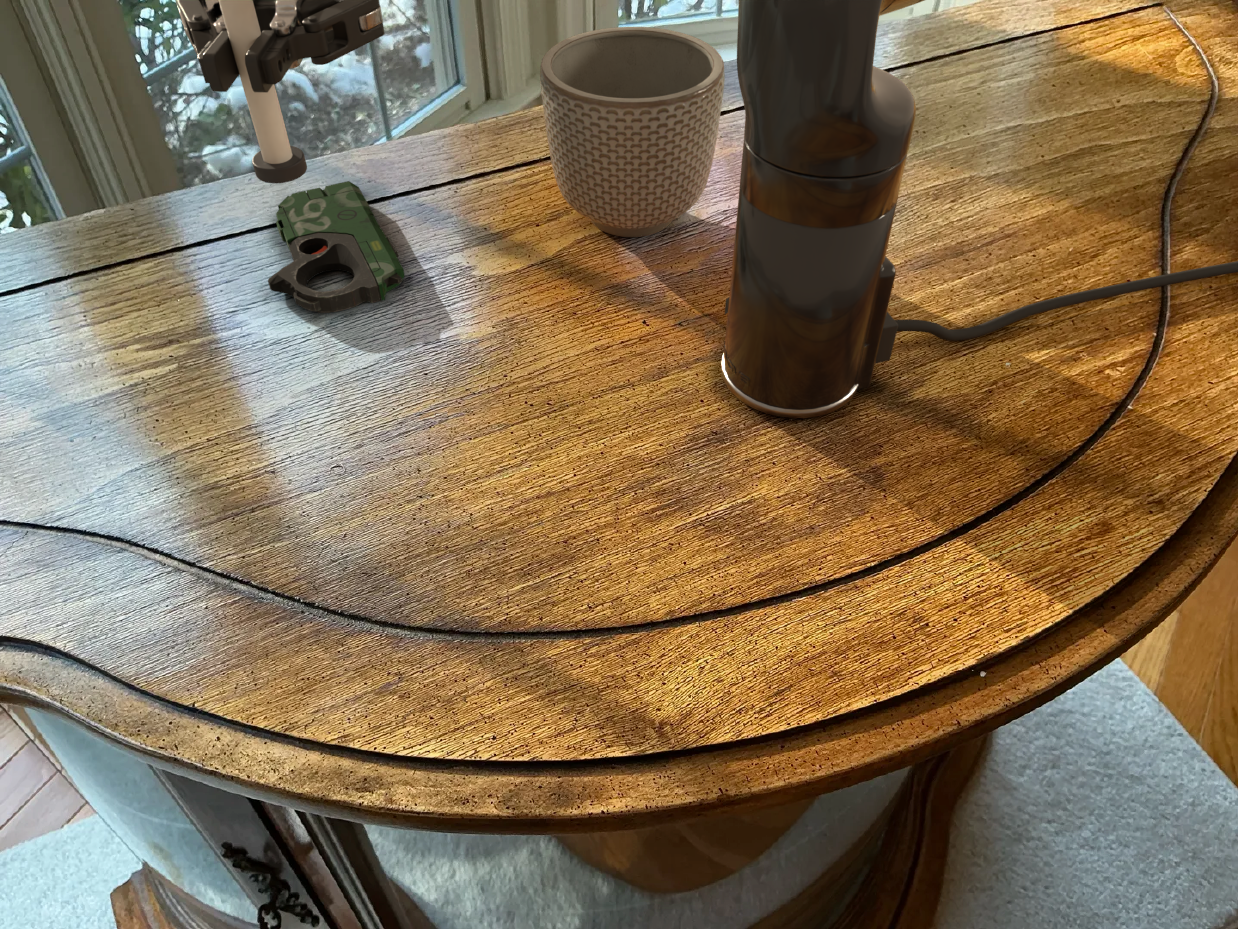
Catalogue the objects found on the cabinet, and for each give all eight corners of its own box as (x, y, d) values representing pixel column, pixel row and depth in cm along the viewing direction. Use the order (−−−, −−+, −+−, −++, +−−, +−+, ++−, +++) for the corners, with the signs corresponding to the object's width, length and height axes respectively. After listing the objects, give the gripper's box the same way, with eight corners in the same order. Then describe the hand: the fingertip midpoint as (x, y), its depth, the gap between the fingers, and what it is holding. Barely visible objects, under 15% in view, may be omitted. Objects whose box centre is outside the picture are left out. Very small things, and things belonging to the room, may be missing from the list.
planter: (577, 165, 89) (571, 17, 79) (729, 186, 86) (741, 35, 77) (525, 247, 79) (512, 90, 70) (694, 273, 76) (704, 113, 67)
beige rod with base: (305, 155, 64) (251, -60, 55) (309, 179, 62) (254, -41, 53) (254, 163, 64) (191, -54, 54) (257, 187, 61) (192, -34, 52)
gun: (239, 203, 81) (358, 177, 84) (244, 219, 82) (361, 192, 85) (278, 310, 71) (413, 275, 74) (283, 326, 72) (416, 291, 75)
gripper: (198, -95, 65) (88, 5, 53) (404, -93, 65) (341, 8, 53) (230, 21, 70) (137, 136, 58) (421, 23, 70) (367, 140, 58)
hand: (234, 75), depth 55 cm, fingers closed on beige rod with base, 2 cm apart
